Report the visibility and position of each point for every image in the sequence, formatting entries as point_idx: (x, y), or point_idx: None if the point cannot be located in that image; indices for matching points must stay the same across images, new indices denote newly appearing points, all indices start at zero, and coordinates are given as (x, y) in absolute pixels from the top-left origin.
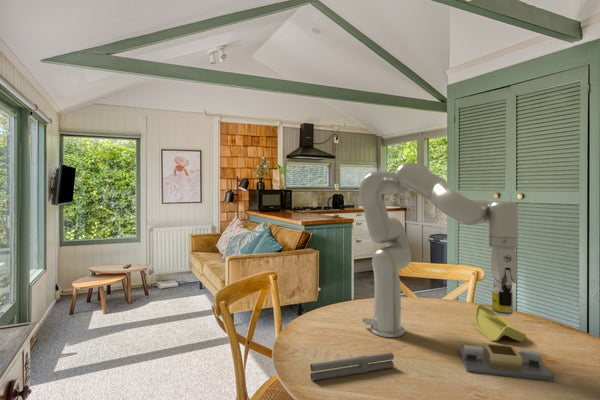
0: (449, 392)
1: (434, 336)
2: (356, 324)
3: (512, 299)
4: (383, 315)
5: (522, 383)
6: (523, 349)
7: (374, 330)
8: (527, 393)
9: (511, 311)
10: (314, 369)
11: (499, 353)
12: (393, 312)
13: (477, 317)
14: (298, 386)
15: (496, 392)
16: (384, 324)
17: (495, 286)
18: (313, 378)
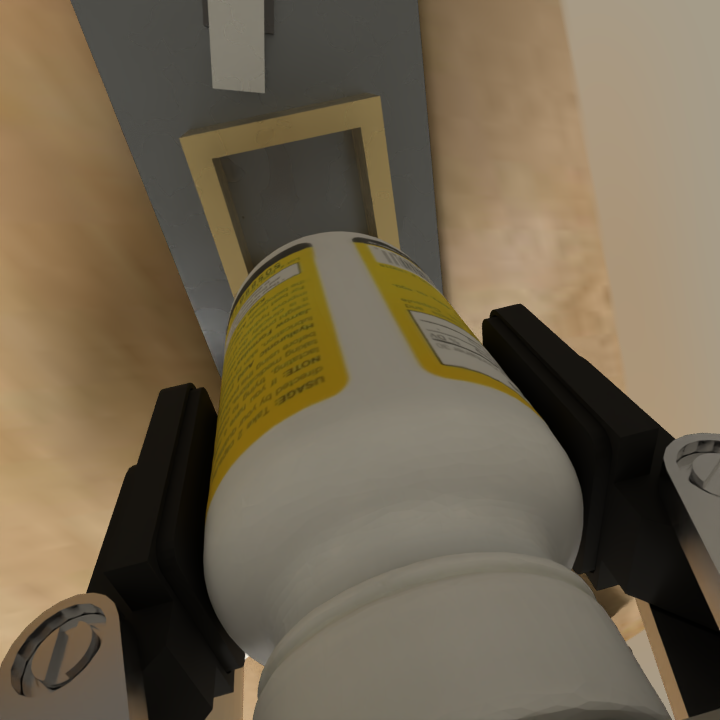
0: (611, 372)
1: (117, 498)
2: None
3: (426, 318)
4: (242, 711)
5: (476, 105)
6: (214, 65)
7: (246, 655)
8: (568, 93)
9: (410, 260)
10: (628, 646)
11: (237, 216)
12: (222, 711)
13: None
14: (633, 625)
15: (584, 227)
16: (243, 666)
17: (221, 677)
18: (615, 625)
